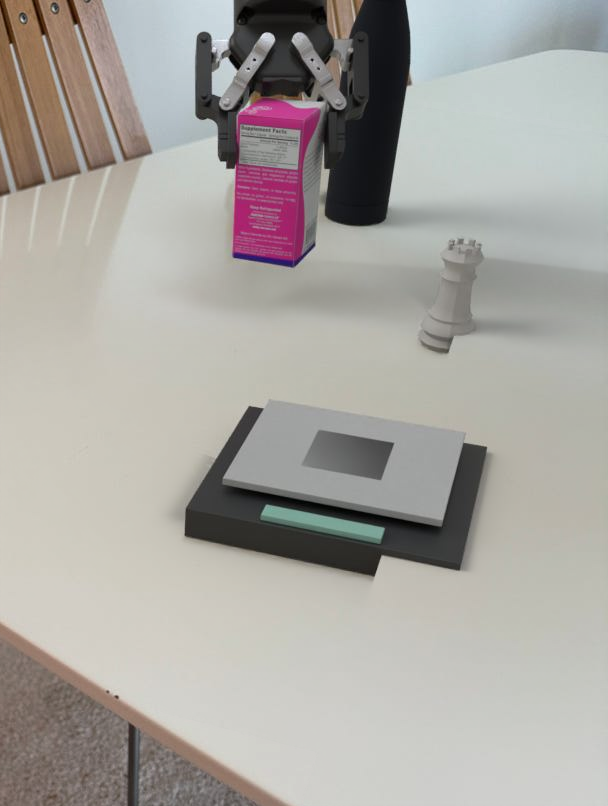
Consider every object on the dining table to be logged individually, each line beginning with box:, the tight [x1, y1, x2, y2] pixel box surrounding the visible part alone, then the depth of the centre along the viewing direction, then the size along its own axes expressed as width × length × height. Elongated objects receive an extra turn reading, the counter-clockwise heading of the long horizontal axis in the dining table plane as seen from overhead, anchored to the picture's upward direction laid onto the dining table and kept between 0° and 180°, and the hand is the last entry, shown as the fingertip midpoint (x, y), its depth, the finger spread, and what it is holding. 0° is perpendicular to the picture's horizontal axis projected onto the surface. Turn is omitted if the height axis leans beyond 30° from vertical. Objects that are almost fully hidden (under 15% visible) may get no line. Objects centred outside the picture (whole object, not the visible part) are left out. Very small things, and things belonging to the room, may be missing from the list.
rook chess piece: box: [417, 237, 485, 354], centre depth 82 cm, size 4×4×8 cm
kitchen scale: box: [183, 399, 488, 576], centre depth 65 cm, size 16×14×3 cm
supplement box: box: [231, 97, 327, 269], centre depth 86 cm, size 6×6×12 cm
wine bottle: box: [324, 0, 412, 227], centre depth 99 cm, size 6×6×30 cm
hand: (281, 163), depth 83 cm, fingers closed on supplement box, 7 cm apart
